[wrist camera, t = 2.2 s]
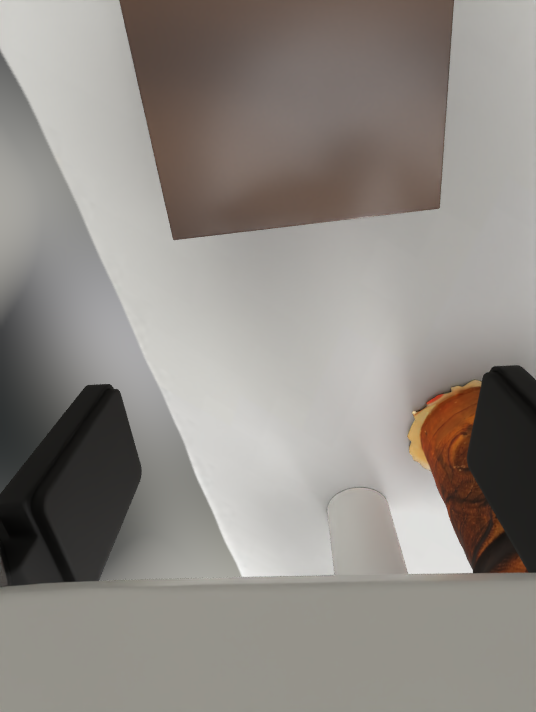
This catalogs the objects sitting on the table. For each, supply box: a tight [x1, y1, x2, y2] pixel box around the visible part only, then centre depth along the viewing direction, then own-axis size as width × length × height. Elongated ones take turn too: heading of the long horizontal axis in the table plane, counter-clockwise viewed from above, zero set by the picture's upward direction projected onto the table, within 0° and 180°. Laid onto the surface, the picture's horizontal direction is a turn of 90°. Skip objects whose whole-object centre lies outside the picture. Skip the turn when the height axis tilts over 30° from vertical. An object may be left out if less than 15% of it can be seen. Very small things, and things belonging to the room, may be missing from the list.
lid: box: [119, 0, 454, 240], centre depth 19 cm, size 16×16×6 cm
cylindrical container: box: [327, 487, 408, 575], centre depth 37 cm, size 7×7×25 cm
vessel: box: [407, 380, 528, 573], centre depth 33 cm, size 14×14×20 cm
